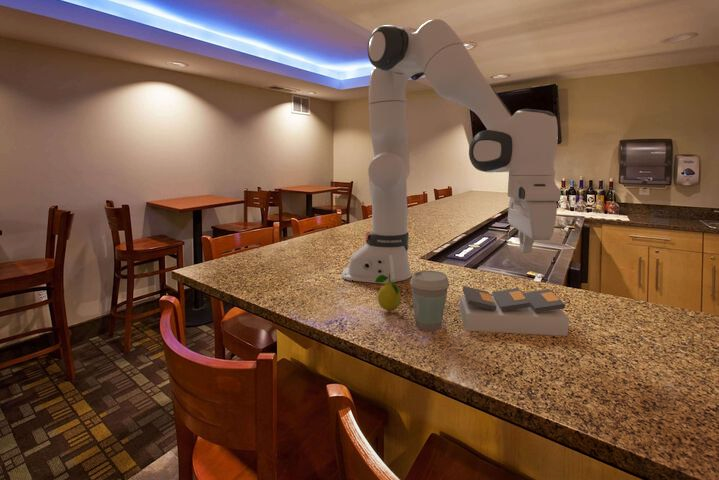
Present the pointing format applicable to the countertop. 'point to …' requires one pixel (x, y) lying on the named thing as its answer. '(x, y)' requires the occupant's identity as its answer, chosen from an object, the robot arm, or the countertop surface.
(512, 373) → the countertop surface
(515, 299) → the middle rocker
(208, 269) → the countertop surface
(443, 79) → the robot arm
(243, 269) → the countertop surface
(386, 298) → the lemon
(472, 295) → the left rocker
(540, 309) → the right rocker
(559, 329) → the rocker switch box
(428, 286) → the coffee cup
